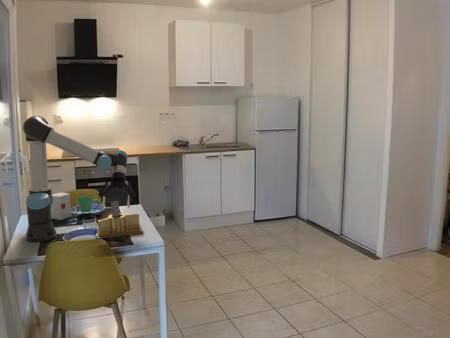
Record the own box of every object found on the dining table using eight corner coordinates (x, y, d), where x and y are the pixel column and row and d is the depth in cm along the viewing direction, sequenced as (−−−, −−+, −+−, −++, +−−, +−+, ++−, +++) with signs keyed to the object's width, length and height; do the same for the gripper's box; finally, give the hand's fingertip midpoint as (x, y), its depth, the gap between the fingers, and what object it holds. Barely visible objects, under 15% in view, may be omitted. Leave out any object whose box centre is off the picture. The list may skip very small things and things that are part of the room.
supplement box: (60, 220, 258) (58, 196, 255) (50, 218, 262) (48, 195, 259) (72, 216, 266) (70, 193, 263) (61, 214, 270) (59, 192, 267)
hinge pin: (114, 231, 233) (111, 203, 229) (113, 228, 237) (110, 201, 233) (121, 229, 234) (118, 202, 230) (120, 227, 238) (118, 200, 234)
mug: (75, 215, 268) (74, 200, 266) (81, 211, 278) (80, 196, 276) (97, 215, 267) (96, 200, 265) (103, 211, 276) (102, 196, 275)
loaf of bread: (96, 239, 225) (95, 222, 223) (95, 230, 239) (93, 214, 237) (143, 233, 233) (142, 217, 231) (139, 225, 247) (138, 209, 245)
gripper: (141, 177, 247) (139, 209, 235) (98, 178, 245) (93, 211, 233) (140, 170, 240) (137, 203, 229) (95, 171, 239) (91, 204, 227)
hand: (115, 207), depth 231 cm, fingers open, 13 cm apart
